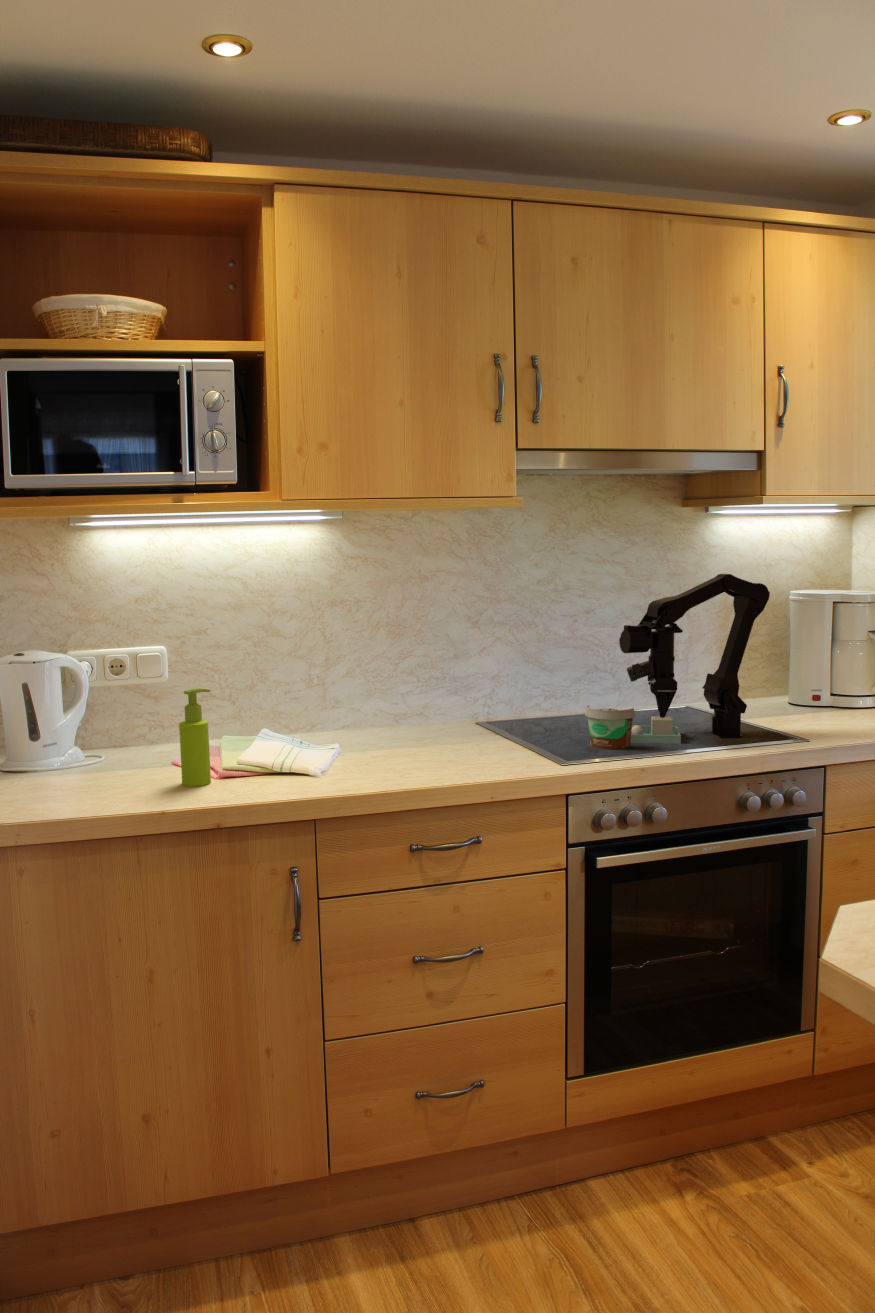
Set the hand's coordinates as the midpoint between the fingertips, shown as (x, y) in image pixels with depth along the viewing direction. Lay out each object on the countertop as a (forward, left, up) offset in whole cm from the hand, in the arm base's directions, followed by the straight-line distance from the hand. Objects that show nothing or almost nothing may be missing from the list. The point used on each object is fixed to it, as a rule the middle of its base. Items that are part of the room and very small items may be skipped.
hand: (661, 714), depth 231 cm
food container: (+13, +12, -7) cm, 19 cm away
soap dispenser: (+98, +53, -7) cm, 112 cm away
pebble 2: (+6, +2, -6) cm, 9 cm away
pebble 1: (+6, -2, -6) cm, 9 cm away
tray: (+2, 0, -7) cm, 7 cm away
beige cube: (0, 0, -6) cm, 6 cm away
